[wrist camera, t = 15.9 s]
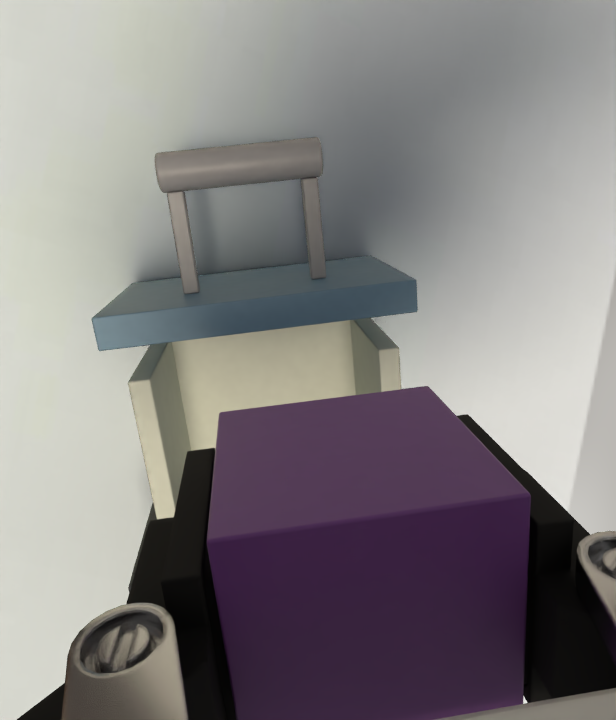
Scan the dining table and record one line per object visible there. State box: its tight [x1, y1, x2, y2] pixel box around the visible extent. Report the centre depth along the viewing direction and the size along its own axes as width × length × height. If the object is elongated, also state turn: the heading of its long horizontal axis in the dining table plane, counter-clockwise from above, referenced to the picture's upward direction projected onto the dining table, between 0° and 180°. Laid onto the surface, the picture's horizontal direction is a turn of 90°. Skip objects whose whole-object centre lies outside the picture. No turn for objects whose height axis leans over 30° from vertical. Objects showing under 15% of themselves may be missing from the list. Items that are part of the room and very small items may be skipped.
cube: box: [207, 386, 531, 720], centre depth 10 cm, size 4×4×4 cm
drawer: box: [92, 137, 418, 519], centre depth 24 cm, size 19×11×7 cm, turn 6°
